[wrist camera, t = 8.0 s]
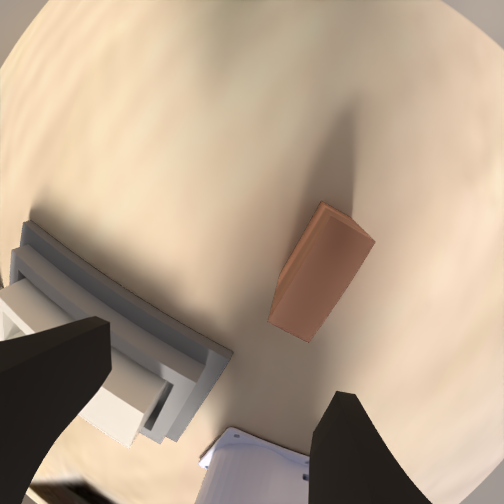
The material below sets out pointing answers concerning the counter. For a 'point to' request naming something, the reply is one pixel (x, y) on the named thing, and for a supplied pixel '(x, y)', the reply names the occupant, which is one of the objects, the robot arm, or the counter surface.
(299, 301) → the terracotta flat slab
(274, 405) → the counter surface
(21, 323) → the white hollow block
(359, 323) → the counter surface
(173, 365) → the cradle
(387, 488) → the robot arm
